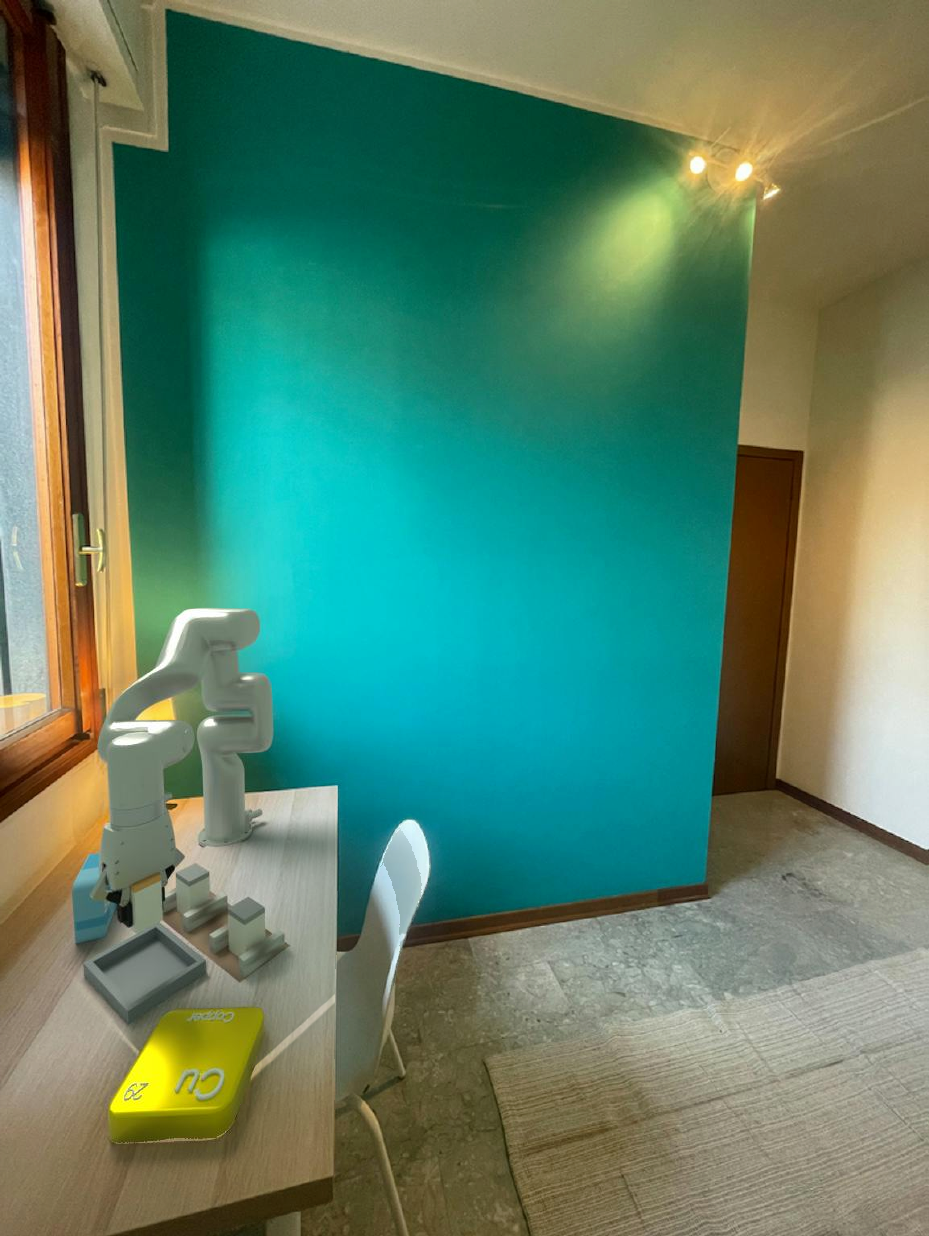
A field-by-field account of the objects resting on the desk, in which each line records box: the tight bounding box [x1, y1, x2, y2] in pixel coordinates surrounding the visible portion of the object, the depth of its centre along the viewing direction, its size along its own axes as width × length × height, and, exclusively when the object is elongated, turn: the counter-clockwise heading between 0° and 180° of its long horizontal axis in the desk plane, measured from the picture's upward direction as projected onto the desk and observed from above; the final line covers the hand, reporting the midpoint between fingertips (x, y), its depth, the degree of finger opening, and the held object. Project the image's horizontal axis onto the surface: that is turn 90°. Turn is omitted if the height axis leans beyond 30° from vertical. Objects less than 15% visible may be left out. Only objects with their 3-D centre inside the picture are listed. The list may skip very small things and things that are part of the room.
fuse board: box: [162, 887, 291, 983], centre depth 96 cm, size 10×29×4 cm, turn 56°
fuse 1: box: [175, 862, 211, 914], centre depth 100 cm, size 4×5×8 cm
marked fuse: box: [129, 873, 163, 934], centre depth 83 cm, size 4×5×8 cm
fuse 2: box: [228, 896, 266, 957], centre depth 91 cm, size 4×5×8 cm
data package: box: [71, 852, 117, 944], centre depth 97 cm, size 12×4×12 cm, turn 23°
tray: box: [82, 921, 207, 1025], centre depth 85 cm, size 12×16×3 cm
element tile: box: [107, 1006, 265, 1143], centre depth 69 cm, size 15×15×5 cm
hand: (142, 914), depth 84 cm, fingers closed on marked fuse, 4 cm apart
